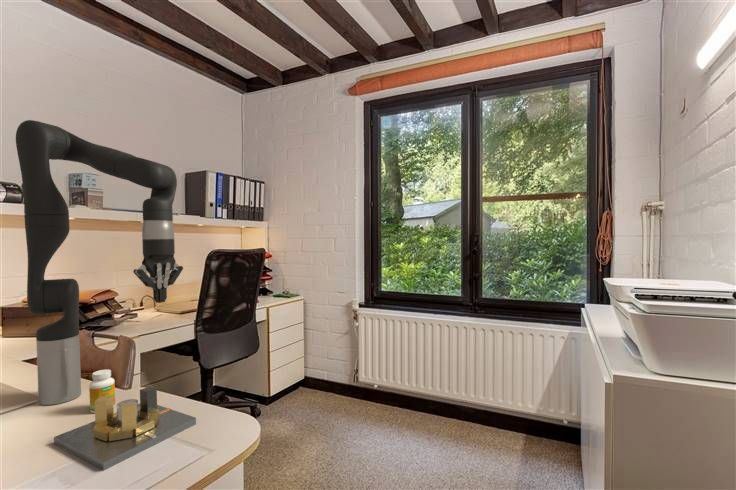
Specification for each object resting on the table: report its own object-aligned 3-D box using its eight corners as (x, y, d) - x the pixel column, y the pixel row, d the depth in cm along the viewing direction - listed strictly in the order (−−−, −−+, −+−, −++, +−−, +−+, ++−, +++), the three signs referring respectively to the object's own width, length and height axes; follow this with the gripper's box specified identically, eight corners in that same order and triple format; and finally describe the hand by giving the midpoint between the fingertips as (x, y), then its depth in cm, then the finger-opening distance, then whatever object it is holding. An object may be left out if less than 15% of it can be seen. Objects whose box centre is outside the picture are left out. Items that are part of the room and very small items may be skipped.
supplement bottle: (102, 414, 95) (101, 376, 95) (84, 412, 96) (83, 375, 96) (120, 405, 100) (119, 368, 100) (103, 403, 101) (102, 367, 101)
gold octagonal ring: (117, 445, 78) (116, 413, 77) (83, 433, 83) (82, 403, 82) (170, 418, 89) (170, 391, 88) (137, 409, 94) (136, 383, 94)
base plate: (54, 443, 82) (52, 411, 81) (146, 406, 99) (145, 380, 99) (103, 470, 72) (102, 434, 72) (196, 423, 89) (195, 394, 89)
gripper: (141, 238, 94) (143, 307, 94) (189, 237, 105) (191, 299, 105) (124, 238, 97) (126, 305, 98) (172, 237, 109) (174, 297, 109)
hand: (160, 302), depth 102 cm, fingers closed
